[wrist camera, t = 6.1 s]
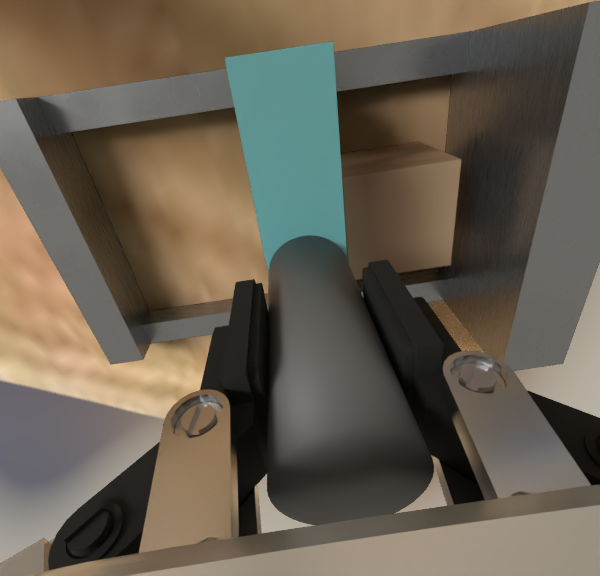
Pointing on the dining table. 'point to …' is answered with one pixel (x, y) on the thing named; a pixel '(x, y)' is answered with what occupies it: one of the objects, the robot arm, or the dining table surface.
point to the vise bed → (459, 142)
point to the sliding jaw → (318, 306)
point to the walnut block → (400, 206)
